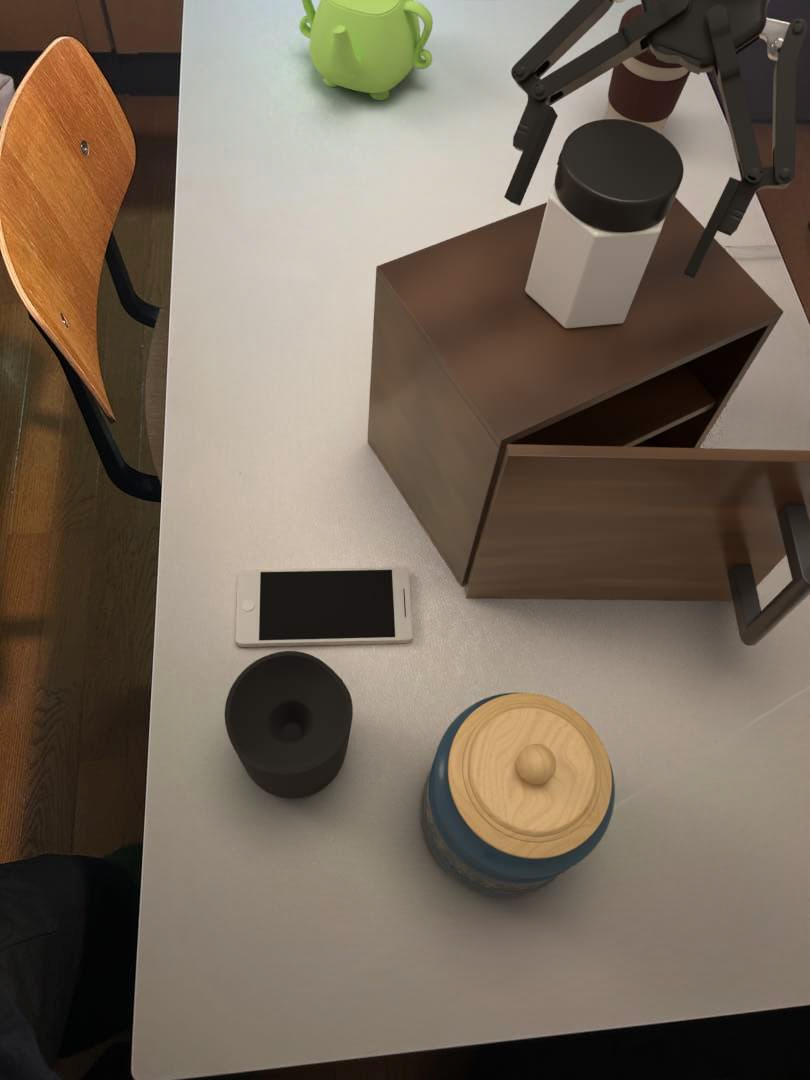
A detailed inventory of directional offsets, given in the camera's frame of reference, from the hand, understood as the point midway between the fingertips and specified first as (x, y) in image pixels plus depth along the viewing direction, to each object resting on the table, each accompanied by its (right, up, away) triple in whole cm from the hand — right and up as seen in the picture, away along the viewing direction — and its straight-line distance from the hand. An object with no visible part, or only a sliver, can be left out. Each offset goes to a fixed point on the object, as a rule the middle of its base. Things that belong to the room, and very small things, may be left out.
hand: (598, 238), depth 66 cm
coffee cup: (+15, +30, +51) cm, 61 cm away
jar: (0, -2, +6) cm, 6 cm away
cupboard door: (+5, -29, +19) cm, 35 cm away
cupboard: (-2, -13, +27) cm, 30 cm away
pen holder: (-23, -39, +12) cm, 47 cm away
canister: (-6, -44, +10) cm, 46 cm away
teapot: (-19, +37, +53) cm, 67 cm away
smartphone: (-21, -28, +18) cm, 39 cm away
